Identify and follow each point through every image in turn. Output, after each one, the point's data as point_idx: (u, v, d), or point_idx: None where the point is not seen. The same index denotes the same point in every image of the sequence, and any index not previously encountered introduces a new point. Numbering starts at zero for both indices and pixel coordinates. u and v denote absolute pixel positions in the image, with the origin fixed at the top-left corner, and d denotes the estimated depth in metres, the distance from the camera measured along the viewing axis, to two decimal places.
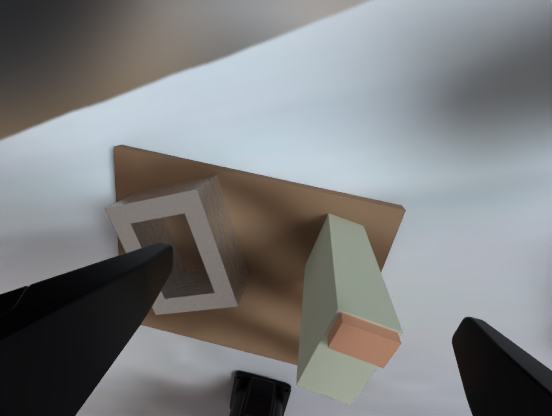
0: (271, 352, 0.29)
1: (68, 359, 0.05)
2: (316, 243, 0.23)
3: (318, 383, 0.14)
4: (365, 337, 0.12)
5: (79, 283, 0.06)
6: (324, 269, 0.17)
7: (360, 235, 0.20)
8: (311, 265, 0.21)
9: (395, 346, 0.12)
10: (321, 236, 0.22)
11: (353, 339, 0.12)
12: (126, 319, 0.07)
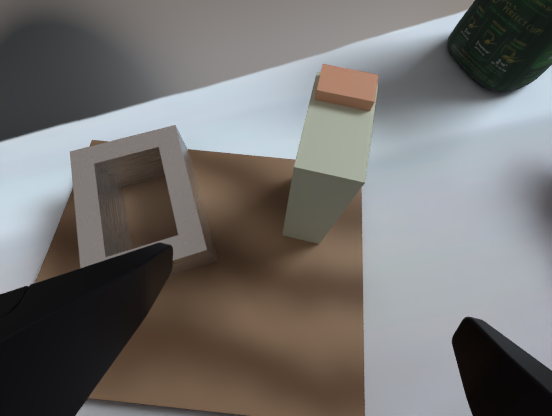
0: (250, 400, 0.18)
1: (68, 359, 0.05)
2: None
3: (318, 157, 0.12)
4: (346, 74, 0.13)
5: (79, 283, 0.06)
6: None
7: None
8: None
9: (375, 78, 0.13)
10: None
11: (337, 77, 0.12)
12: (126, 319, 0.07)
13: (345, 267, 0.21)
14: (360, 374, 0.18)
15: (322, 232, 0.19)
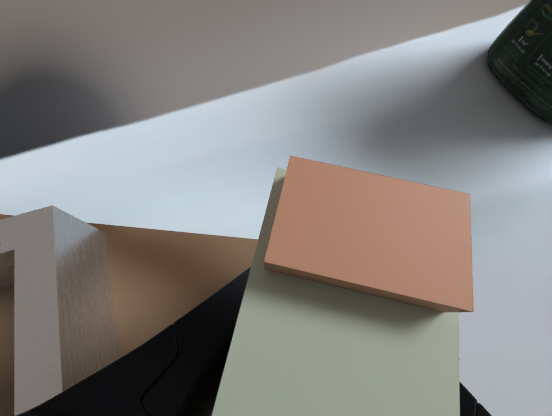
0: None
1: (212, 398, 0.05)
2: None
3: None
4: (367, 193, 0.04)
5: (216, 318, 0.05)
6: None
7: None
8: None
9: (460, 207, 0.04)
10: None
11: (336, 207, 0.04)
12: None
13: None
14: None
15: None
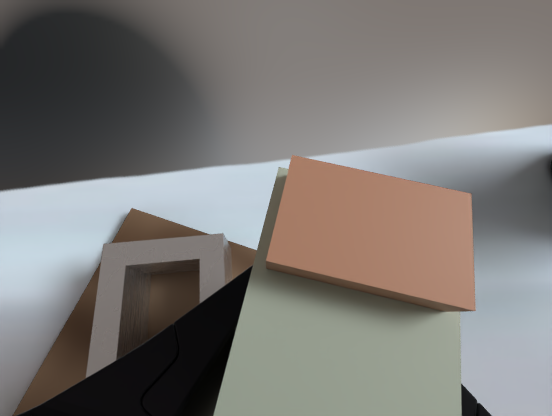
0: None
1: (212, 398, 0.05)
2: None
3: None
4: (368, 192, 0.04)
5: (216, 318, 0.05)
6: None
7: None
8: None
9: (462, 207, 0.04)
10: None
11: (338, 206, 0.04)
12: None
13: None
14: None
15: None
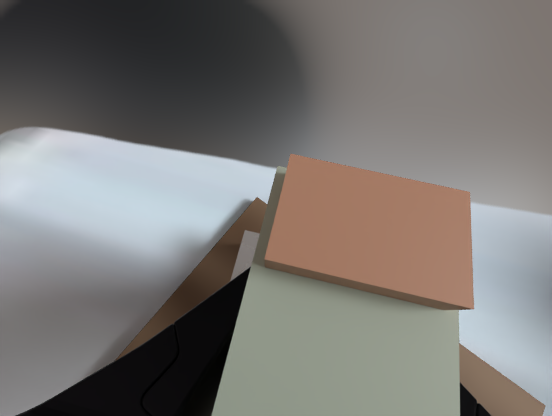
0: None
1: (212, 398, 0.05)
2: None
3: None
4: (366, 191, 0.04)
5: (217, 318, 0.05)
6: None
7: None
8: None
9: (460, 205, 0.04)
10: None
11: (337, 205, 0.04)
12: None
13: None
14: None
15: None
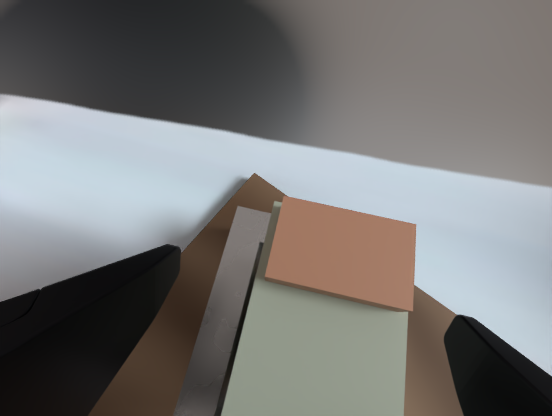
0: None
1: (80, 362, 0.05)
2: None
3: None
4: (340, 224, 0.05)
5: (90, 286, 0.06)
6: None
7: None
8: None
9: (408, 234, 0.05)
10: None
11: (317, 235, 0.05)
12: (135, 321, 0.07)
13: None
14: None
15: None
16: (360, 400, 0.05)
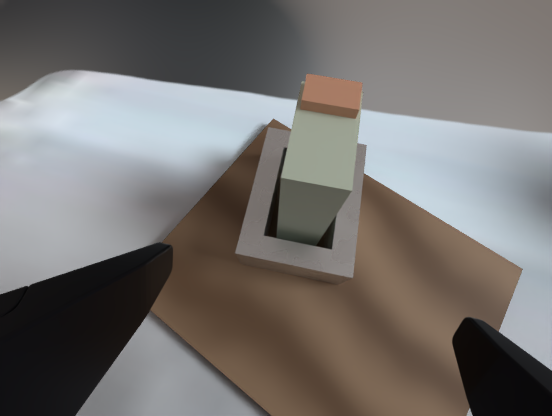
0: None
1: (68, 359, 0.05)
2: None
3: (305, 167, 0.12)
4: (330, 83, 0.13)
5: (79, 283, 0.06)
6: None
7: None
8: None
9: (359, 86, 0.13)
10: None
11: (321, 86, 0.13)
12: (126, 319, 0.07)
13: None
14: None
15: (315, 238, 0.19)
16: (340, 145, 0.12)
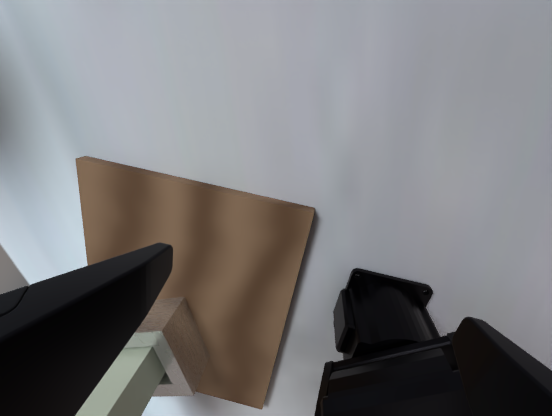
0: (284, 288, 0.23)
1: (68, 359, 0.05)
2: None
3: None
4: None
5: (79, 283, 0.06)
6: None
7: None
8: None
9: None
10: None
11: None
12: (126, 319, 0.07)
13: (184, 199, 0.21)
14: (274, 207, 0.21)
15: None
16: None
